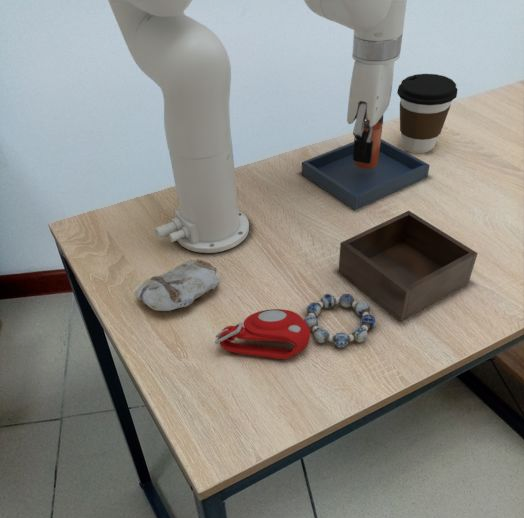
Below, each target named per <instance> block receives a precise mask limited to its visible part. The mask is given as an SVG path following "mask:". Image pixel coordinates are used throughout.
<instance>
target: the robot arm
mask: <svg viewBox="0 0 524 518" xmlns="http://www.w3.org/2000/svg"><path fill="white" fill-rule="evenodd" d="M107 1H108V4H109V6H110V8H111V11H112V13H113V16H114V18H115V21H116V23H117V25H118V28H119V30H120V33H121V36H122V38H123V40H124V42H125V44H126V47H127V50H128V51H129V53H130V56H131V58H132V59H133V61H134V63H135V65H137V67H138V68H139V69H140V71H142V72H143V73H144V74H145V75H146V76H147V78H149V79H150V80H152V82H154V83H155V84H156V86H157V87H158V88H160V90H161V93H162V96H163V125H164V132H165V139H166V145H167V149H168V154H169V159H170V165H171V170H172V175H173V179H174V186H175V191H176V196H177V202H178V207H179V209H177V210H175V211H174V217H175V218H172V219H170V222H168V223H164V224H161V225H159V226H157V227H154V233H155V235H156V237H157V239H159V240H162V239H164V238H166V237H169V240H170V242H171V243H174V242H177V243H178V244H179V245H181V247H183V248H184V249H186V250H188V251H191V252H195V253H199V254H200V253H201V254H215V253H222V252H224V251H228V250H231V249H233V248H235V247H237V246H239V245H240V244H241V243H242V242H243V241H245V239H246V238H247V237H248V234H249V232H250V222H249V219H248V217H247V216H246V215H245V213H243V212H242V211H241V210H240V209H239V203H238V192H237V191H238V190H237V181H236V171H235V170H236V169H235V159H234V150H233V140H232V131H231V130H232V129H231V119H230V118H231V116H230V100H231V99H230V98H231V97H230V96H231V85H232V84H231V83H232V66H231V61H230V57H229V54H228V51H227V48H226V47H225V45H224V43H223V41H221V39H220V38H219V37H218V36H217V34H215V33H214V32H213V30H211V29H210V28H208V26H206V25H204V24H202V23H200V22H199V21H197V20H195V19H194V18H192V17H190V16H188V15H186V14H185V11H186V9H188V7H189V6H190V5H191V3H192V1H193V0H107ZM303 1H304V3H305V5H306V6H307V8H308V9H309V10H310V11H311V12H313V13H314V14H315V15H317V16H319V17H322V18H324V19H326V20H328V21H332V22H334V23H337V24H339V25H341V26H343V27H345V28H348V29H351V30H353V37H352V55H351V56H352V57H351V58H352V59H353V60H354V64H353V68H352V73H351V79H350V86H349V95H348V104H347V115H346V122H347V124H348V125H352V124H354V126H353V131H352V135H353V136H354V138H353V142H354V154H353V160H354V161H357V162H362V163H368V164H369V163H370V162H371V156H372V146H373V141H371V138H372V132H373V126H374V125H375V124H376V123H377V122H380V123H381V124H382V126H383V124H384V114H385V112H386V111H387V109H389V106H390V103H391V97H392V91H393V82H394V72H395V71H394V70H395V62H396V61H398V60H399V59H400V57H401V50H402V43H403V34H404V27H405V26H404V25H405V19H406V17H405V16H406V10H407V2H408V0H303ZM367 120H369V121H370V123H367V122H365V121H367ZM363 127H366V128H368V134H367V132H366V131H364V130H363Z"/></svg>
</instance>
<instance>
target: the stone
mask: <svg viewBox="0 0 524 518" xmlns="http://www.w3.org/2000/svg"><path fill="white" fill-rule="evenodd" d="M219 283H220V278H219V276H218V275H217V268H216V267H215V266H214V265H212V264H211V262H207V261H205V260H202V259H199V258H198V259H195V260H194V259H193V260H187V261H183V262H181V263H180V264H179V265H177V266H175V267H174V268H173V269H170V270H168V271H167V272H165V273H163V274H160V275H155V276H152V277H150V278H148V279H146V280H145V281H143V282H142V283H141V284H140V285H139V287H138V288H137V291H136V294H135V295H136V296H135V298H137V300H140V301H141V302H143V303H144V304H145V305H147V308H148V307H149V308H150V309H152V310H154V311H158V312H159V311H160V312H170V311H174V310H176V309H181V308H187V307H188V306H190V305H192V304H193V303H194V301H195V300H196V299H198V298H200V297H202V296H203V295H204V294H205V293H208V292H209V291H211V290H212V291H213V290H215V289H216V287H217V286H218V285H219Z"/></svg>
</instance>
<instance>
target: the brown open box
mask: <svg viewBox="0 0 524 518" xmlns="http://www.w3.org/2000/svg"><path fill="white" fill-rule="evenodd" d="M477 257H478V252H477V251H475V250H473V249H472V248H471V247H469V246H467V245H465V244H463V243H462V242H461V241H459V240H457V239H455V238H454V237H452V236H451V235H449V234H448V233H446V232H444V231H443V230H441V229H439V228H438V227H436V226H434V225H433V224H431V223H430V222H428V221H427V220H425V219H423V218H421V217H420V216H419V215H417V214H415V213H414V212H412V211H410V210H407V211H405V212H402V213H401V214H399V215H396V216H394V217H392V218H390V219H388V220H386V221H383V222H381V223H379V224H377V225H375V226H373V227H371V228H369V229H367V230H364V231H363V232H360V233H358V234H356V235H353V236H352V237H350V238H348V239H345V240H343V241H341V242H340V247H339V260H338V273H339V274H341V276H343V277H344V278H345V279H347V280H348V281H349V282H351V284H352V285H354V286H356V287H357V288H358V289H359V290H360V291H362V292H363V293H364V294H365V295H366V296H367V297H369V298H370V299H371V300H372V301H375V302H376V303H377V304H378V305H379V306H380V307H381V308H383V309H384V310H385V311H387V312H388V313H389V314H390V315H391V316H393V317H394V318H395V319H397V320H398V321H399V322H402V321H404V320H406V319H408V318H409V317H411V316H413V315H415V314H417V313H418V312H421V311H422V310H425V308H427V307H429V306H431V305H432V304H435V303H436V302H438V301H440V300H441V299H443V298H445V297H446V296H449V295H450V294H452V293H454V292H455V291H457V290H459V289H460V288H462V287H464V286H466V285H468V284H469V283H470V280H471V277H472V273H473V270H474V267H475V264H476V260H477Z"/></svg>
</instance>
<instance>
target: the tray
mask: <svg viewBox="0 0 524 518" xmlns="http://www.w3.org/2000/svg"><path fill="white" fill-rule="evenodd" d="M353 154H354V141H352V142H349V143H347V144H345V145H341V146H339V147H337V148H334V149H332V150H329V151H327V152H324V153H322V154H319V155H316V156H313V157H310V158H309V159H306V160H304V161H303V160H302V161H301V175H302V176H304V177H305V178H307V179H308V180H309V181H311V182H313V183H314V184H316V185H317V186H319V187H320V188H322V189H323V190H325V191H326V192H328V193H329V194H331V195H332V196H333V197H335V198H337V199H338V200H340V202H342V203H344V204H346V205H347V206H349V208H351V209H353V210H355V211H356V210H358V209H361V208H362V207H364V206H367V205H369V204H371V203H373V202H375V201H377V200H380V199H382V198H384V197H387V196H388V195H390V194H394V193H395V192H398V191H400V190H402V189H405V188H406V187H407V188H408V187H409V186H411V185H414V184H415V183H417V182H419V181H422V180H424V179H428V176H429V171H430V166H431V165H430V164H429V163H427V162H425V161H423V160H422V159H420V158H418V157H416V156H414V155H412V154H410V153H409V152H406V150H404V149H401V148H399V147H397V146H395V145H394V144H391V142H390V143H389V142H388V141H386V140H384V139H382V138H381V144H380V153H379V162H378V165H377V166H376V167H374V168H369V169H364V168H359V167H357V166H356V165H355V163H354V160H353Z"/></svg>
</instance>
